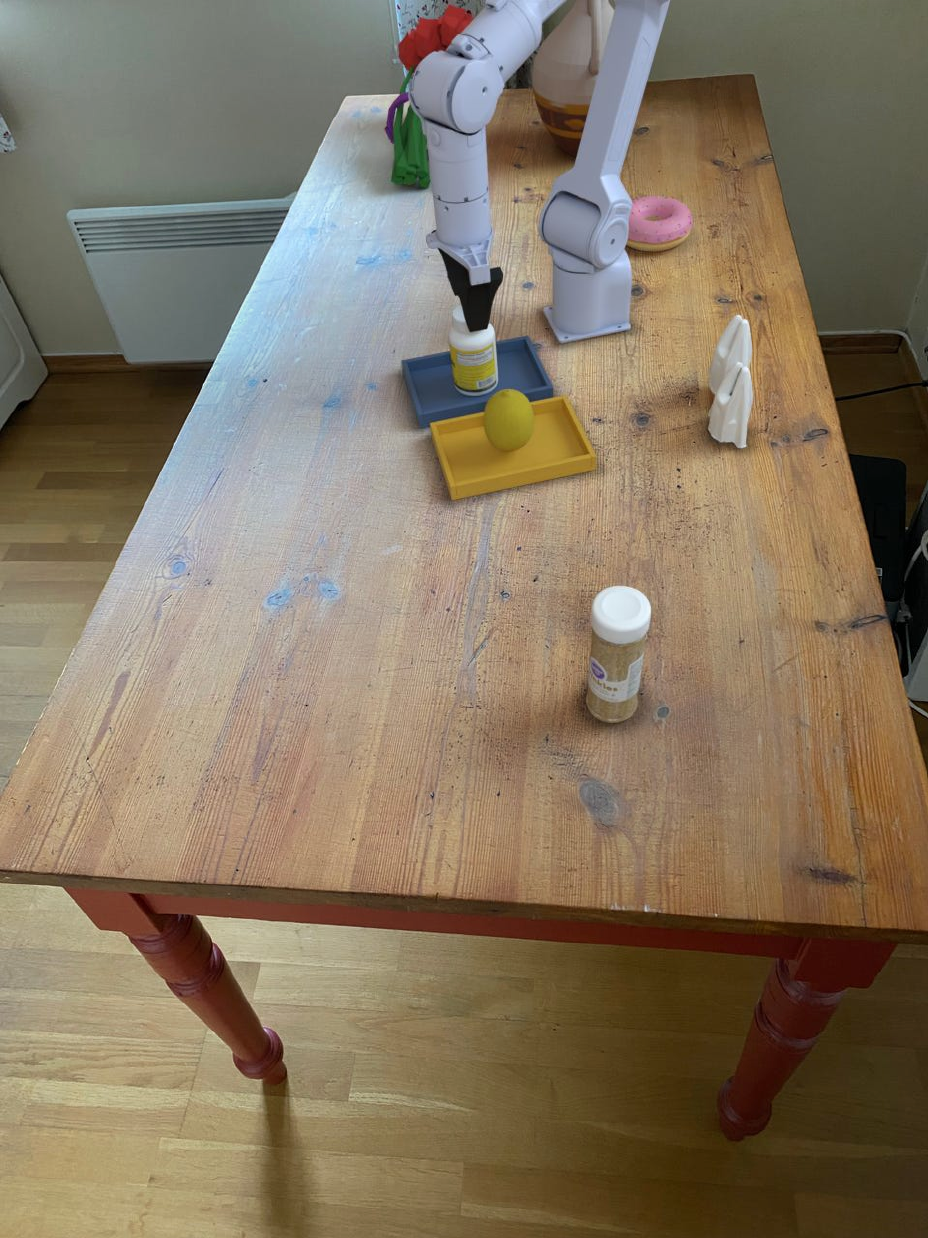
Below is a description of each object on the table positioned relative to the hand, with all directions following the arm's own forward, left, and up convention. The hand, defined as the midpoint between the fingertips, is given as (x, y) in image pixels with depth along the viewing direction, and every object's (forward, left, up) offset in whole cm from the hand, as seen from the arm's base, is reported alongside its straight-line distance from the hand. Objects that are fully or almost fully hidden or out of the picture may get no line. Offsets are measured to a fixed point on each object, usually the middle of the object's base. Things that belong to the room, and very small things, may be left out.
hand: (470, 310), depth 100 cm
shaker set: (-26, +14, -11) cm, 31 cm away
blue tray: (0, 0, -10) cm, 10 cm away
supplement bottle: (0, 0, -10) cm, 10 cm away
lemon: (-1, +13, -10) cm, 16 cm away
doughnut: (-32, -26, -11) cm, 43 cm away
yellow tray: (-1, +13, -10) cm, 17 cm away
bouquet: (-8, -65, -11) cm, 66 cm away
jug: (-32, -56, -11) cm, 65 cm away
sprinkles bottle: (-1, +48, -11) cm, 49 cm away
